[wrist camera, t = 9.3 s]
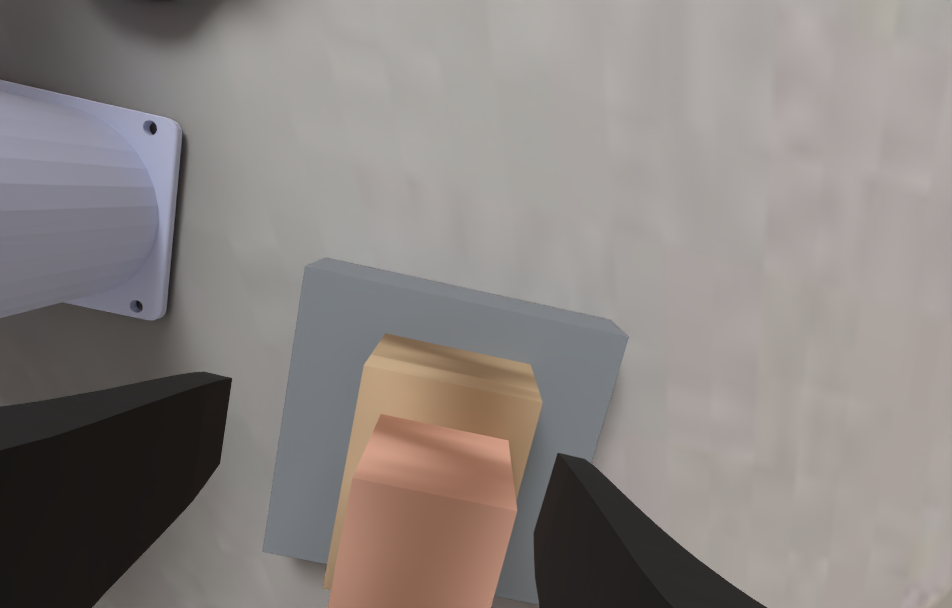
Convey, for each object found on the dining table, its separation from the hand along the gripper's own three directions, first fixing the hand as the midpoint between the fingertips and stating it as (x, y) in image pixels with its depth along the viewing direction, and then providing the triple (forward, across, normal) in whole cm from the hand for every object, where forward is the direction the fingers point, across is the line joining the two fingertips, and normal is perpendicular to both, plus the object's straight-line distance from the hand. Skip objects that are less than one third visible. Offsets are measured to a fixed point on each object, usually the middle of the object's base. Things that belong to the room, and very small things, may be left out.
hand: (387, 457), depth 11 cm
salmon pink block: (+4, -1, +4) cm, 6 cm away
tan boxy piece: (+8, -1, +4) cm, 9 cm away
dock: (+10, -1, +4) cm, 11 cm away
